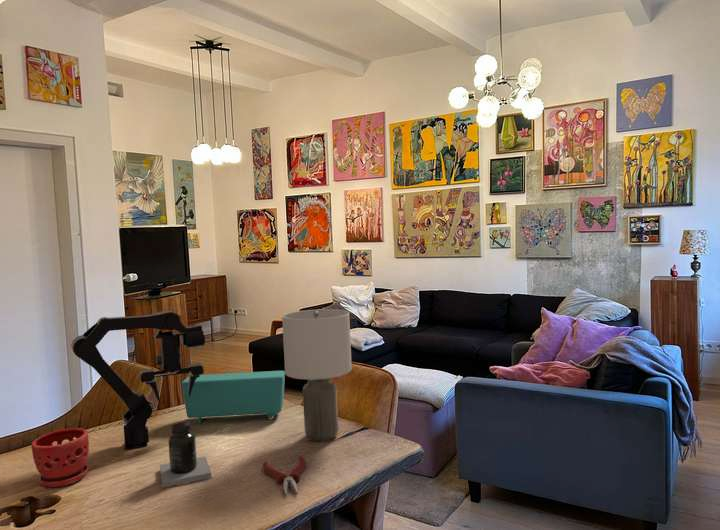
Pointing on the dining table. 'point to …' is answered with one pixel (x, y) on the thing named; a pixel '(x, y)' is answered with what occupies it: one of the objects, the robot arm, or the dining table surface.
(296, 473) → the pliers
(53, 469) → the plant pot
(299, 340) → the lamp
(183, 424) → the supplement bottle
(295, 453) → the dining table surface
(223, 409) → the teal foam block
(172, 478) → the grey flat square slab
